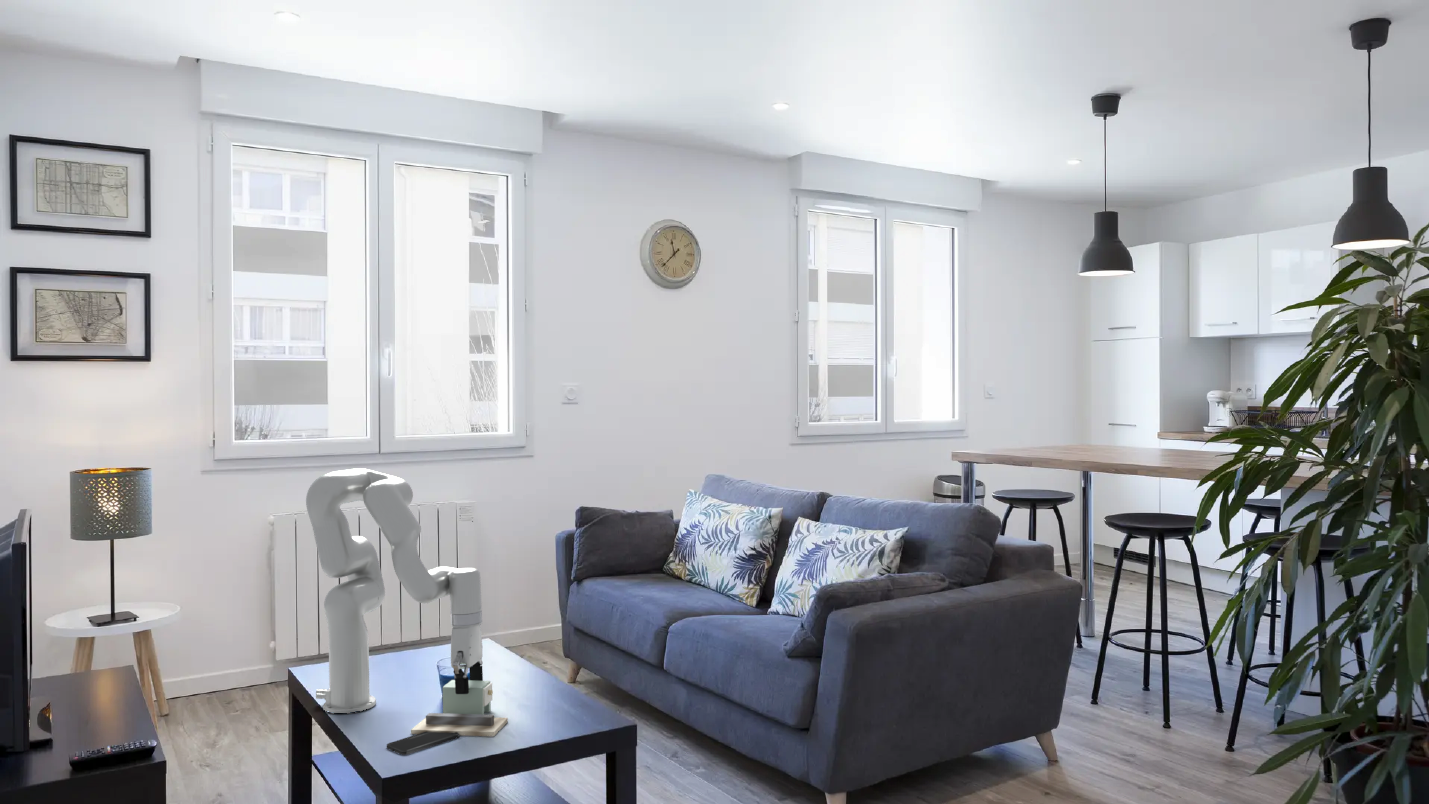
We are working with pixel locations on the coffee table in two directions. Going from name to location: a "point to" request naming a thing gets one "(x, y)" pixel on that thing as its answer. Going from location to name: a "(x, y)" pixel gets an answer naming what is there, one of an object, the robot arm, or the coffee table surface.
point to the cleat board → (461, 724)
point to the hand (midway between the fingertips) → (469, 687)
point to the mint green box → (468, 698)
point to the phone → (421, 742)
